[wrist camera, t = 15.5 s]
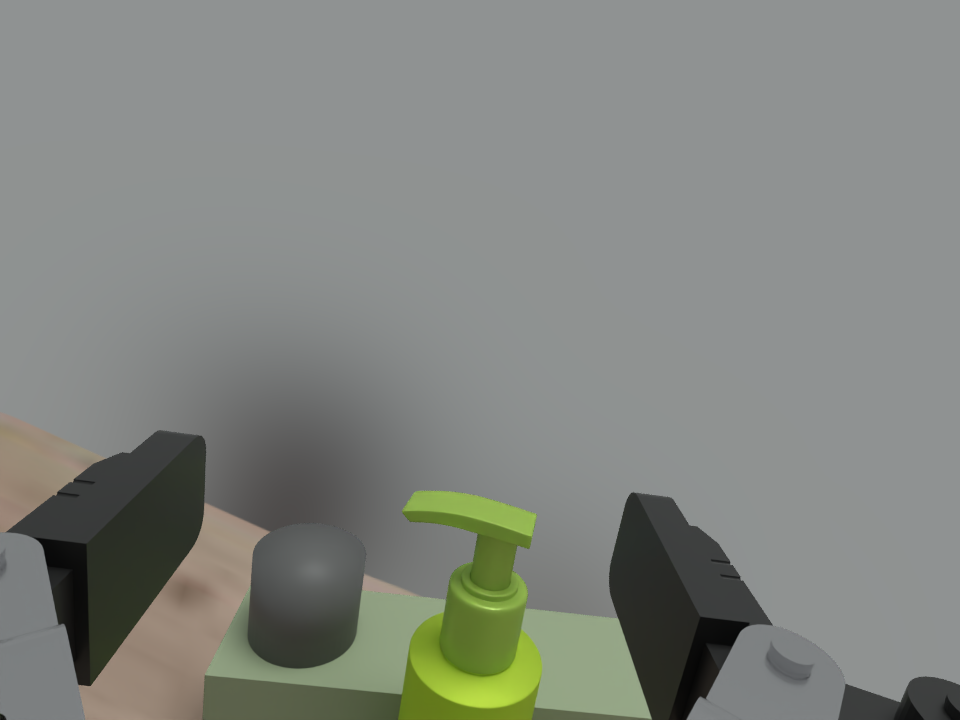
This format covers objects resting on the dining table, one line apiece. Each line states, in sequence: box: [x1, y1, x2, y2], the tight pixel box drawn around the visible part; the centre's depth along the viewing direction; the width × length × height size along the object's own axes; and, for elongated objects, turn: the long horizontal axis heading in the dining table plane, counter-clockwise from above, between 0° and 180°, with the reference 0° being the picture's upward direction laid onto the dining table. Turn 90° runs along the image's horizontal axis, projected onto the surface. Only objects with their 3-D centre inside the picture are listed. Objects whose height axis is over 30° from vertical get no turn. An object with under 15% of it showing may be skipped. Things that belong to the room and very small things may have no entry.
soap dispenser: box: [398, 491, 542, 720], centre depth 28 cm, size 6×7×20 cm
